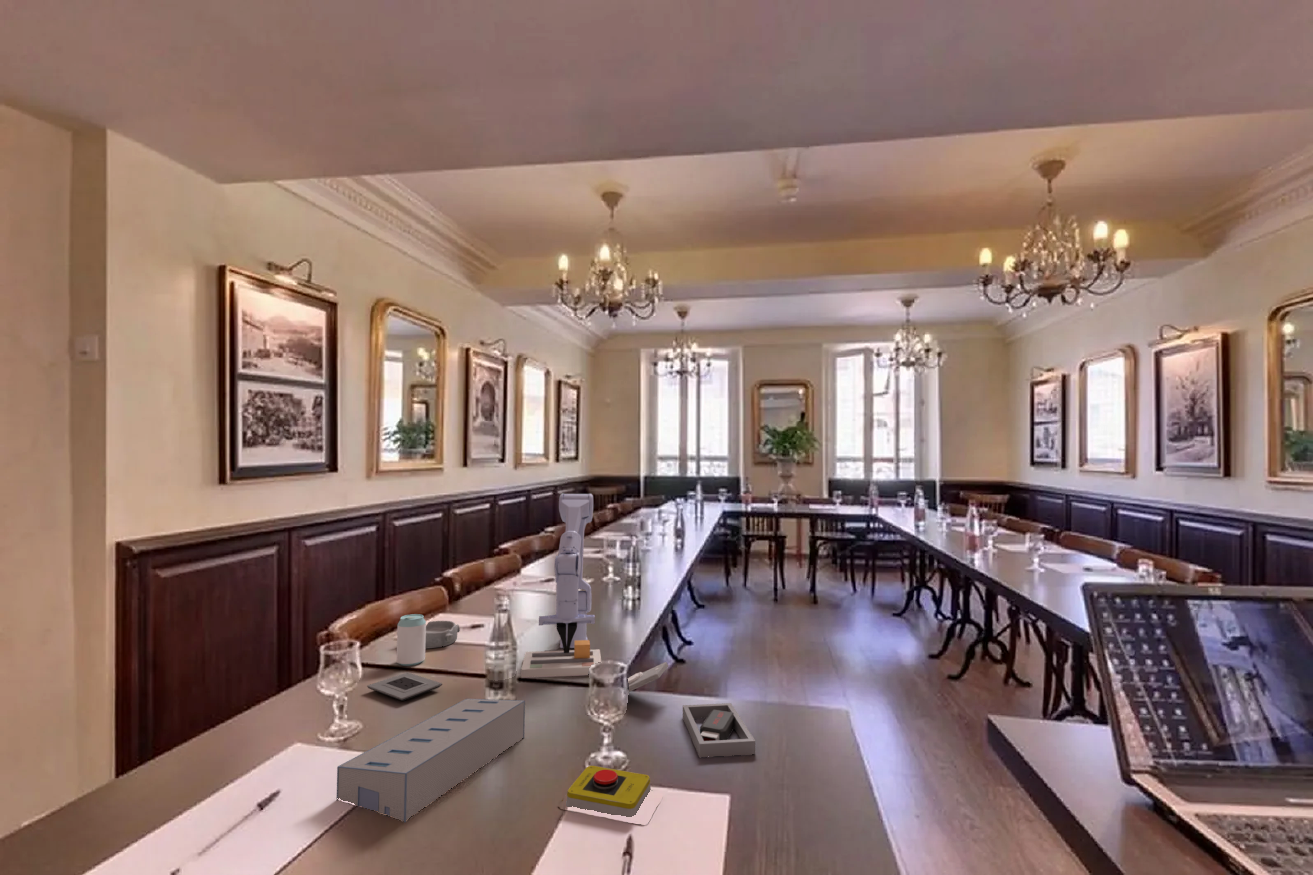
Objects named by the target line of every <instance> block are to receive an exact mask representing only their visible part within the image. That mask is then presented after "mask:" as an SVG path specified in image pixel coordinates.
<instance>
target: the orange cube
mask: <svg viewBox="0 0 1313 875" xmlns="http://www.w3.org/2000/svg"><path fill="white" fill-rule="evenodd" d="M573 650H574V658H590V650H591V643H590V639H587V640H575V641H574V648H573Z"/></svg>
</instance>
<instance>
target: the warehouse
mask: <svg viewBox="0 0 1313 875" xmlns="http://www.w3.org/2000/svg"><path fill="white" fill-rule="evenodd" d="M525 709H526V700H516V699H513V700H512V699H488V698H487V699H486V698H484V699H483V698H465V699H463V700H461V701H459V702H456V704H453V705H452V706H450V707H448V708H446V709H444V710H443V711H440V712H439V713H436V714H434V715H433V716H431V717H429V718H426V719H425V720H423V721H421V722H419V723H417V724H416V725H414V726H412V727H410V728H408V729H407V730H404V731H402V732H400V733H398V734H396V735H394V736H392V737H391V738H389V739H387V740H385V741H383V742H382V743H379V744H378V745H376V746H374V747H372V748H370V749H368V750H367V751H364V752H362V753H361V754H358V755H357V756H355V757H353V758H351V759H349V760H348V761H345V762H344V763H342V764H340V765H338V766H337V768H336V769H337V770H336V799H337V798H338V799H339V798H340V799H341V800H343V801H348V802H351V803H354V804H355V805H357V806H362V807H364V808H363V809H365V808H367V809H366V810H368V809H370V810H369V811H371V810H375V811H378V812H379V813H383V814H387V815H389V816H392V817H394V818H396V819H399V820H402V821H401V822H402V823H406V822H407V821H408V820H407V819H408V818H410V817H411V816H412V815H414V814H416V813H417V812H418V811H419V810H421V809H423V808H424V807H425V806H427V805H428V804H430V803H431V802H432V801H434V802H436V801H437V800H438V799H439V798H438V797H440V798H441V797H442V796H441V795H443V794H444V793H445V792H447V791H448V790H449V789H451V788H452V787H454V786H455V787H457V786H456V784H458V783H460V782H461V781H462V780H463V779H465V778H467V777H468V776H469V775H470V774H472V773H473V772H475V771H476V770H477V769H479V768H481V767H482V766H483V765H485V764H486V763H488V762H489V761H490V760H492V759H493V758H495V757H496V756H497V755H499V754H500V753H502V752H503V751H505V750H506V749H508V748H509V747H510V746H512V747H513V746H515V745H516V744H517V743H516V742H518V743H519V742H520V740H521V739H522V738H524V739H525V727H526V726H525V716H526V710H525ZM522 740H523V739H522ZM522 740H521V741H522ZM515 743H516V744H515ZM514 744H515V745H514ZM509 749H510V748H509ZM509 749H508V750H509ZM506 751H507V750H506ZM506 751H505V752H506ZM503 753H504V752H503ZM503 753H502V754H503ZM499 756H500V755H499ZM496 758H497V757H496ZM496 758H495V759H496ZM492 761H493V760H492ZM489 763H490V762H489ZM489 763H488V764H489ZM486 765H487V764H486ZM486 765H485V766H486ZM482 768H483V767H482ZM482 768H481V769H482ZM479 770H480V769H479ZM475 773H476V772H475ZM472 775H473V774H472ZM469 777H470V776H469ZM469 777H468V778H469ZM468 778H467V779H468ZM465 780H466V779H465ZM462 782H463V781H462ZM462 782H461V783H462ZM461 783H460V784H461ZM458 785H459V784H458ZM455 787H454V788H455ZM452 789H453V788H452ZM452 789H451V790H452ZM448 792H449V791H448ZM448 792H447V793H448ZM445 794H446V793H445ZM445 794H444V795H445ZM444 795H443V796H444ZM437 798H438V799H437ZM436 799H437V800H436ZM431 804H432V803H431ZM431 804H430V805H431ZM428 806H429V805H428ZM428 806H427V807H428ZM362 807H361V808H362ZM424 809H425V808H424ZM424 809H423V810H424ZM421 811H422V810H421ZM418 813H419V812H418ZM418 813H417V814H418ZM417 814H416V815H417ZM389 816H388V817H389ZM414 816H415V815H414ZM411 818H412V817H411ZM411 818H410V819H411ZM396 819H395V820H396ZM399 820H398V821H399ZM406 820H407V821H406ZM403 821H404V822H403Z"/></svg>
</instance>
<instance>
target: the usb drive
mask: <svg viewBox="0 0 1313 875" xmlns="http://www.w3.org/2000/svg"><path fill="white" fill-rule="evenodd" d="M733 714H734V713H733V712H727V711H721V710H712V711H711V712H710V714H709V715H708V716H707V718H704V721H703V722H702V724H701V725H700V727H699V732H700V734H701V736H702V738H703V740H704V741H716V740H729V737H730V736H731V734H732V732H733V730H735V729H734V715H733Z"/></svg>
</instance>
